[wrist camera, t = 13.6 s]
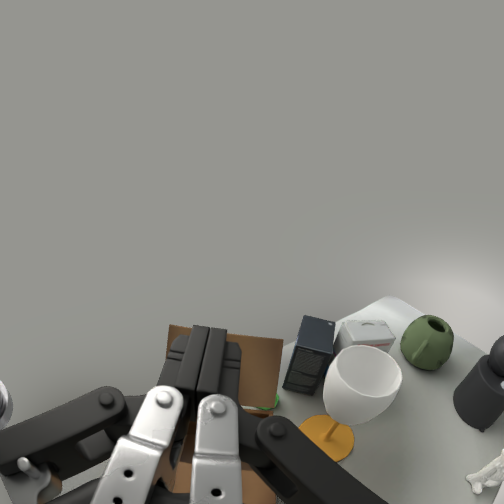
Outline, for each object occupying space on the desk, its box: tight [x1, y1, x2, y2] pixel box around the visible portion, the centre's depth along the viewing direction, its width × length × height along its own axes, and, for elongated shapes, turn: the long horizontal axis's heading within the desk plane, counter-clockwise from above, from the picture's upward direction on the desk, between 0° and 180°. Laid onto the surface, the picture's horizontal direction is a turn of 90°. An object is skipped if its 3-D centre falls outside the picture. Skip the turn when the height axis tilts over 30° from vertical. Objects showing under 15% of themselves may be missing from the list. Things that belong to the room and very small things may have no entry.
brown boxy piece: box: [173, 409, 276, 504], centre depth 22 cm, size 13×17×9 cm
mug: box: [400, 315, 454, 370], centre depth 48 cm, size 16×13×9 cm
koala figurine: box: [466, 448, 504, 495], centre depth 16 cm, size 8×7×12 cm
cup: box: [299, 345, 403, 462], centre depth 29 cm, size 9×9×16 cm
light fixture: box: [453, 335, 504, 432], centre depth 31 cm, size 13×16×14 cm
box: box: [282, 315, 335, 396], centre depth 42 cm, size 8×6×11 cm
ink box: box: [324, 320, 396, 378], centre depth 42 cm, size 9×5×12 cm, turn 96°
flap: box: [166, 324, 283, 408], centre depth 29 cm, size 13×8×1 cm
